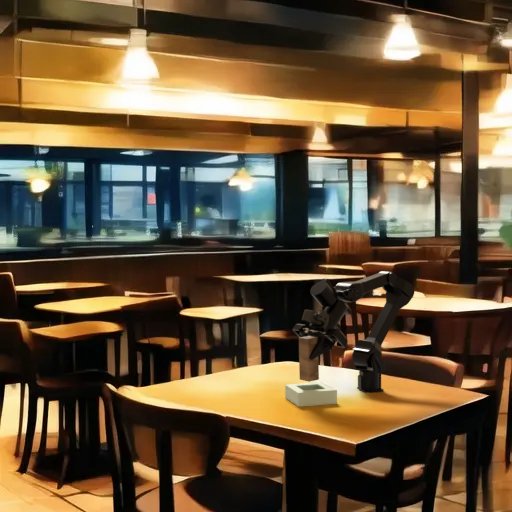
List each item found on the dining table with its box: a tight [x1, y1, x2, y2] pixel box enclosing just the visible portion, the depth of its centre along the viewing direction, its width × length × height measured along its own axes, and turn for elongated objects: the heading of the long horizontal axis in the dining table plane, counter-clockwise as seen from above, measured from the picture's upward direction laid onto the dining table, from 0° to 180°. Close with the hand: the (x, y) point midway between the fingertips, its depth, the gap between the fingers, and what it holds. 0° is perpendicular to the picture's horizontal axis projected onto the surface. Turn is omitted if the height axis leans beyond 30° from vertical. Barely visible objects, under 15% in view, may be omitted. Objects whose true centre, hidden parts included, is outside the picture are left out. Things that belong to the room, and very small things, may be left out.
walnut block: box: [298, 336, 320, 383], centre depth 218 cm, size 4×4×12 cm
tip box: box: [284, 381, 338, 408], centre depth 221 cm, size 12×12×4 cm
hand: (305, 358), depth 217 cm, fingers closed on walnut block, 4 cm apart
